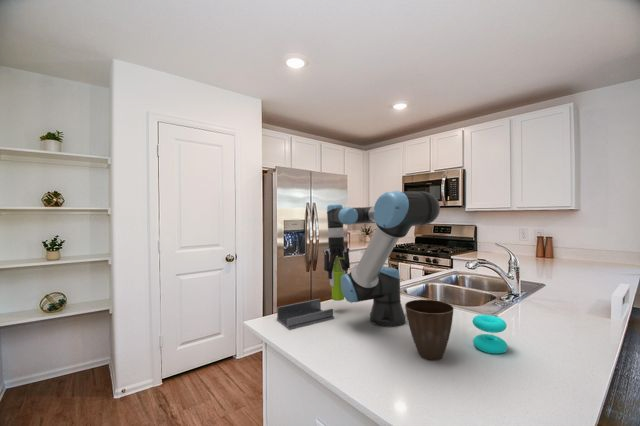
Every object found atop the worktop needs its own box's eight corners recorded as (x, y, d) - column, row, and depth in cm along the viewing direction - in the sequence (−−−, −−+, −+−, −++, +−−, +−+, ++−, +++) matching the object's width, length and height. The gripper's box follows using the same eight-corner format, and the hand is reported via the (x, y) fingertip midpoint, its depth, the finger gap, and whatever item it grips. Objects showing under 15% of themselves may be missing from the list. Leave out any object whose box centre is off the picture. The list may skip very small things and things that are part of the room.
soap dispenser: (345, 300, 138) (343, 258, 139) (331, 300, 140) (329, 258, 140) (347, 297, 144) (345, 256, 144) (333, 297, 145) (331, 256, 146)
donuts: (473, 322, 97) (471, 312, 106) (474, 352, 97) (472, 340, 106) (508, 325, 93) (503, 315, 102) (510, 357, 93) (504, 344, 102)
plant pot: (401, 344, 104) (400, 299, 104) (444, 344, 104) (442, 298, 104) (414, 366, 89) (412, 314, 89) (463, 366, 89) (461, 313, 89)
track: (334, 318, 132) (333, 305, 132) (289, 329, 121) (288, 315, 121) (318, 310, 145) (318, 298, 145) (276, 319, 134) (276, 306, 134)
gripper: (347, 235, 150) (349, 280, 150) (315, 237, 141) (317, 286, 140) (356, 235, 143) (358, 283, 143) (323, 238, 134) (325, 289, 134)
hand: (337, 284), depth 142 cm, fingers closed on soap dispenser, 6 cm apart
